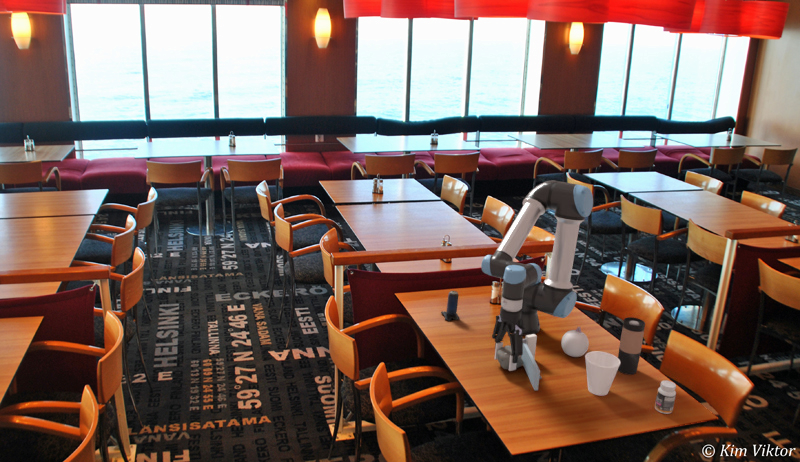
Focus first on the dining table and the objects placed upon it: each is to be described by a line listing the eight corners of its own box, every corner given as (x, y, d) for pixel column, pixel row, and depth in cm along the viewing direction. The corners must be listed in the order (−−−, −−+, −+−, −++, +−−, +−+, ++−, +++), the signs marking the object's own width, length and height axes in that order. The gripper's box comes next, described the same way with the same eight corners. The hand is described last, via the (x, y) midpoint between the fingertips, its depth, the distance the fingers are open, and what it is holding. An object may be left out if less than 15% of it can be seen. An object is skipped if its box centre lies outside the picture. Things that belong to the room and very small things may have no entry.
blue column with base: (462, 319, 274) (464, 294, 270) (446, 322, 271) (448, 296, 267) (453, 311, 282) (455, 286, 278) (437, 313, 279) (439, 288, 275)
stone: (529, 369, 232) (522, 349, 227) (508, 380, 231) (500, 361, 226) (518, 356, 240) (510, 336, 235) (498, 367, 239) (490, 348, 234)
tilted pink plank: (531, 357, 243) (534, 333, 240) (534, 359, 242) (537, 335, 239) (523, 359, 241) (525, 335, 238) (525, 361, 240) (528, 337, 237)
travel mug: (637, 367, 239) (645, 319, 233) (637, 376, 232) (645, 327, 226) (616, 363, 241) (623, 315, 236) (615, 372, 234) (623, 323, 229)
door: (519, 358, 241) (521, 338, 238) (526, 358, 241) (528, 338, 238) (533, 390, 219) (536, 368, 216) (541, 390, 219) (543, 368, 217)
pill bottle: (651, 405, 214) (656, 379, 211) (667, 405, 214) (672, 379, 211) (659, 414, 208) (664, 388, 206) (675, 414, 209) (680, 388, 206)
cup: (610, 403, 214) (615, 370, 210) (576, 392, 220) (580, 360, 216) (619, 388, 223) (624, 357, 220) (586, 378, 229) (590, 347, 226)
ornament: (588, 352, 249) (592, 325, 245) (584, 363, 240) (588, 335, 236) (562, 346, 253) (566, 319, 249) (557, 357, 244) (561, 329, 240)
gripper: (486, 298, 233) (480, 353, 240) (520, 321, 215) (513, 379, 222) (502, 295, 236) (496, 349, 243) (537, 318, 218) (530, 375, 225)
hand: (504, 364), depth 232 cm, fingers closed on stone, 8 cm apart
